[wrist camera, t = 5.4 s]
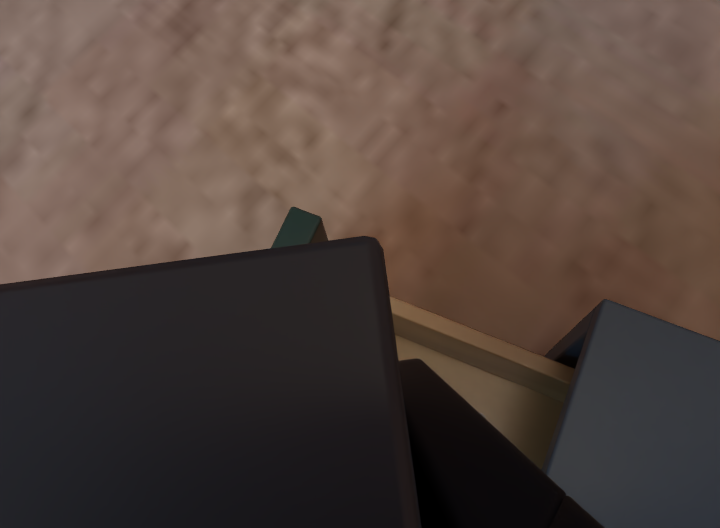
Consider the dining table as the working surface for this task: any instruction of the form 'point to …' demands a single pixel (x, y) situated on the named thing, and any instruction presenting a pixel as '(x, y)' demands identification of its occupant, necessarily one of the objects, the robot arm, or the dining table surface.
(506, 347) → the drawer
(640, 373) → the cabinet
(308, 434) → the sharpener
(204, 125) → the dining table surface
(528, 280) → the dining table surface
